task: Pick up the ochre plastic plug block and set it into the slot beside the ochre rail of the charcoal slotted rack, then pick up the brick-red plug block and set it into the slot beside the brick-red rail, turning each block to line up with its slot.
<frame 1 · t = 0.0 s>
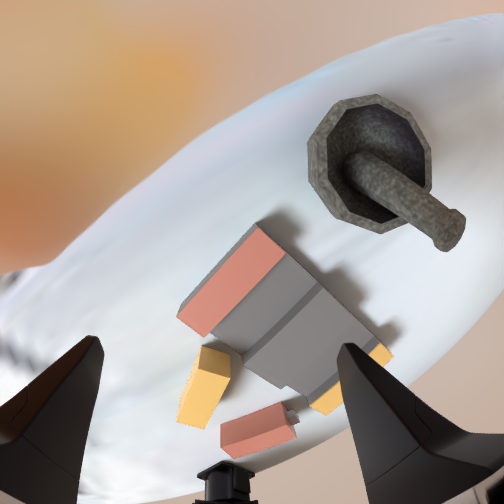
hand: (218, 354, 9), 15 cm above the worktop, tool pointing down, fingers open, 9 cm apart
mortar and pestle: (346, 173, 24), on the worktop
slot rack: (294, 330, 27), on the worktop
brick plug: (255, 419, 30), on the worktop
ochre plug: (203, 377, 27), on the worktop
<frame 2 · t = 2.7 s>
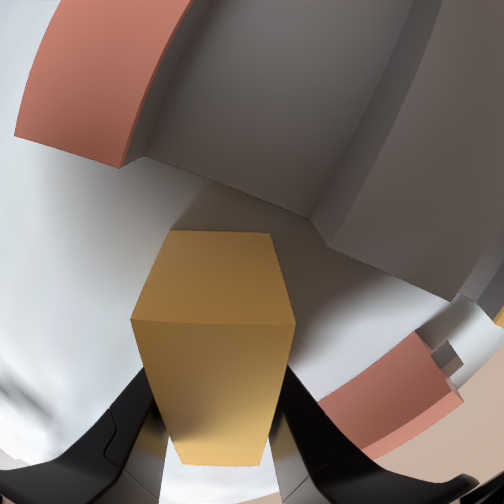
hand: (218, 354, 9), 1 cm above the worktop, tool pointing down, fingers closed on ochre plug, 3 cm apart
slot rack: (431, 108, 7), on the worktop
brick plug: (364, 384, 13), on the worktop
ochre plug: (219, 331, 10), on the worktop, touching gripper
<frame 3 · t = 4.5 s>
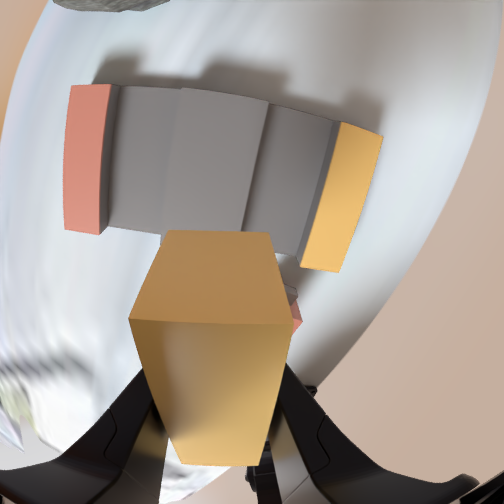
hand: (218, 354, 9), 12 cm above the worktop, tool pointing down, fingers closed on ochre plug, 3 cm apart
slot rack: (212, 168, 18), on the worktop
brick plug: (255, 318, 25), on the worktop
ochre plug: (218, 330, 10), point 11 cm above the worktop, touching gripper
when the fingers open (4 cm above the worktop, at t = 6.6 s): ochre plug drops 2 cm, resting on slot rack.
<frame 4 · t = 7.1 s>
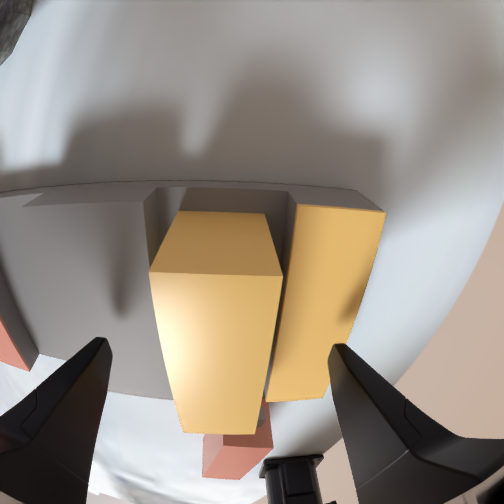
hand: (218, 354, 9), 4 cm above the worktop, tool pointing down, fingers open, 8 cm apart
mortar and pestle: (1, 27, 5), on the worktop
slot rack: (120, 288, 12), on the worktop
brick plug: (231, 420, 18), on the worktop
ochre plug: (219, 304, 11), point 1 cm above the worktop, touching slot rack
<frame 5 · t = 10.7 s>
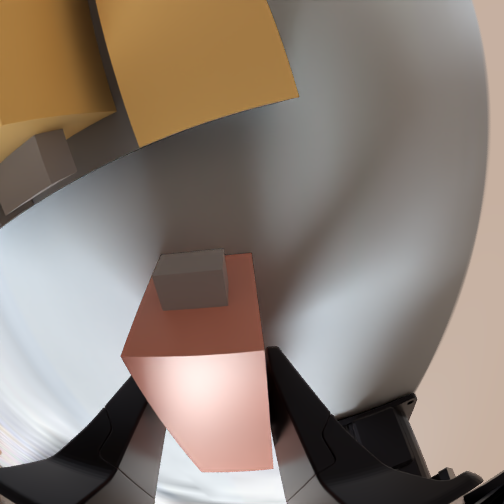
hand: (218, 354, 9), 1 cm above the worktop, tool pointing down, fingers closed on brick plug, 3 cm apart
brick plug: (221, 346, 11), on the worktop, touching gripper
ochre plug: (43, 22, 4), point 1 cm above the worktop, touching slot rack
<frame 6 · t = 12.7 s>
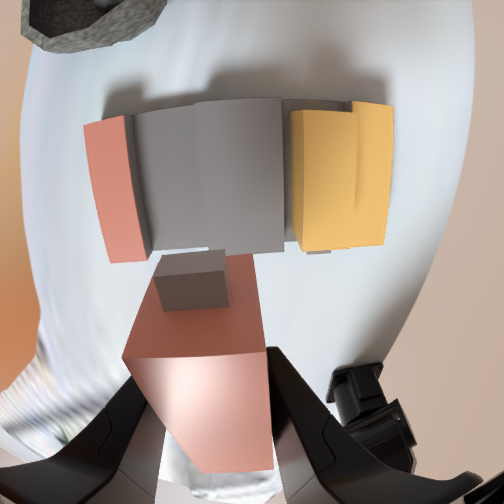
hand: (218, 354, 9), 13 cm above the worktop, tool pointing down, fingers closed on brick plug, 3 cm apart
mortar and pestle: (135, 8, 13), on the worktop
slot rack: (241, 172, 19), on the worktop
brick plug: (222, 347, 11), point 12 cm above the worktop, touching gripper
ochre plug: (312, 170, 18), point 1 cm above the worktop, touching slot rack
when the fingers open (4 cm above the worktop, at t = 14.9 s): brick plug drops 2 cm, resting on slot rack.
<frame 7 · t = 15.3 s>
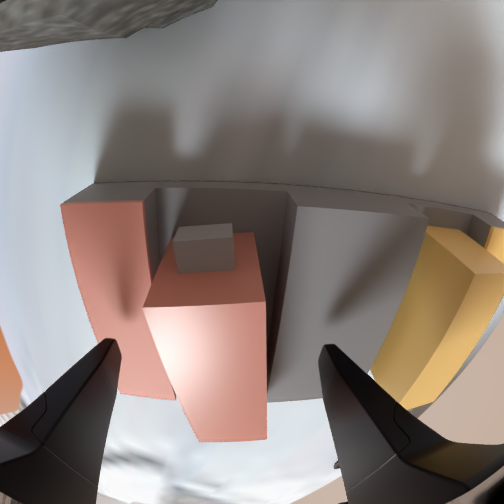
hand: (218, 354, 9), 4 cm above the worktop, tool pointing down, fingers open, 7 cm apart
slot rack: (322, 293, 13), on the worktop
brick plug: (222, 319, 12), point 1 cm above the worktop, touching slot rack
ochre plug: (412, 300, 12), point 1 cm above the worktop, touching slot rack
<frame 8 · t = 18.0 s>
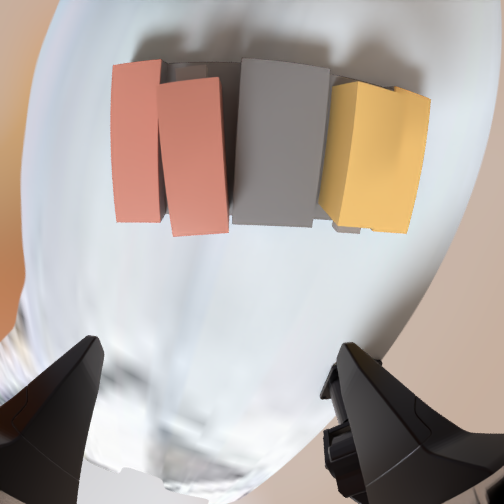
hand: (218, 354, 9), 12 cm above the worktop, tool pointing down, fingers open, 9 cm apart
slot rack: (274, 140, 17), on the worktop
brick plug: (201, 149, 16), point 1 cm above the worktop, touching slot rack
ochre plug: (347, 148, 17), point 1 cm above the worktop, touching slot rack
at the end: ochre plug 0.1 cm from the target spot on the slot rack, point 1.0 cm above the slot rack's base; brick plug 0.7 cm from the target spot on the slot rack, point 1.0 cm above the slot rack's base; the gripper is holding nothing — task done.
